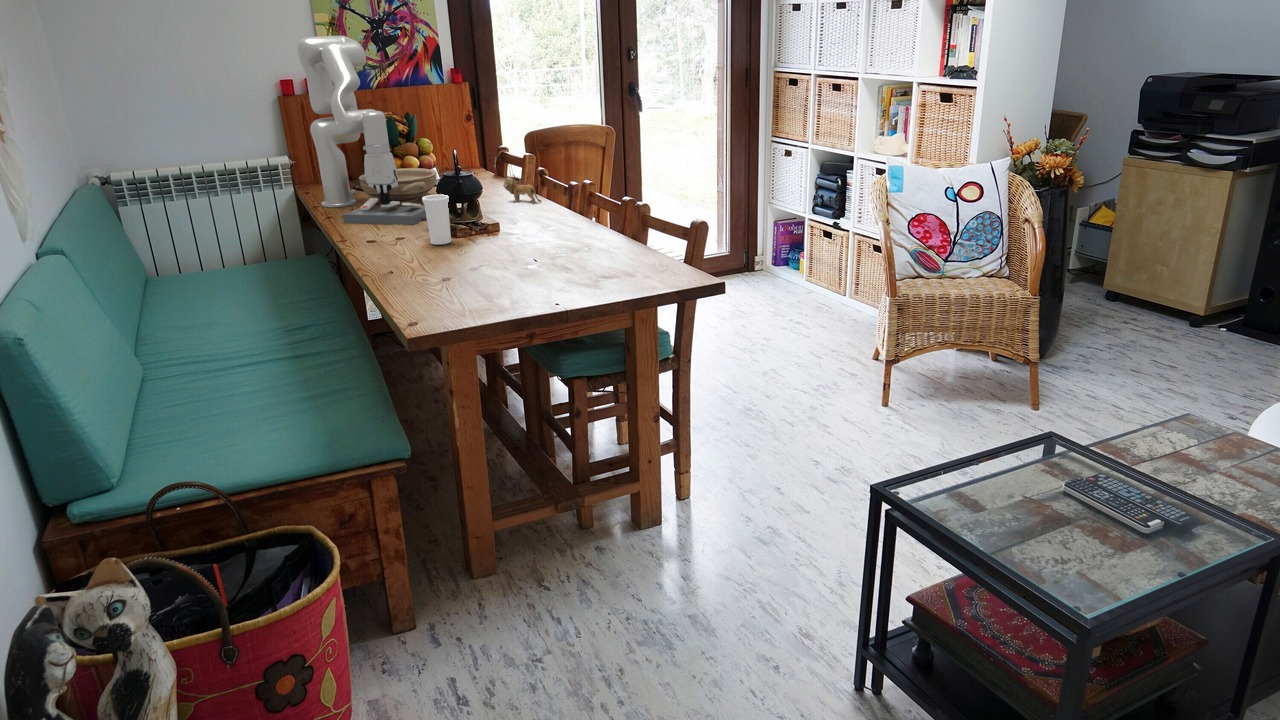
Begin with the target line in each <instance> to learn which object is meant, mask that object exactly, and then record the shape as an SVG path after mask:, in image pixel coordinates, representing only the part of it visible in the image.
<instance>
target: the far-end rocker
mask: <svg viewBox="0 0 1280 720" xmlns="http://www.w3.org/2000/svg"><path fill="white" fill-rule="evenodd" d="M378 201H379V199H378V198H375V197H369V198H368V199H367V201H366V202H364V204H363V205H361V206H360V207H359V208H360V209H361V210H369V209H370V208H371V207H372V206H374V205H375V204H376V203H377V202H378Z"/></svg>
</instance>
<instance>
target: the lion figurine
mask: <svg viewBox="0 0 1280 720" xmlns="http://www.w3.org/2000/svg"><path fill="white" fill-rule="evenodd" d="M502 186H503V187H504V190H506V191H507V192H509V193H510V194H511V195H513V198H514V201H513V203H518V202H519V201H521V199H520V197H521V196H520V195H522V196H524V195H525V196H526V195H527V196H528V197H529V198H530V199H531V200H529V202H531V204H532V205H535V204H536V200H537V201H538V202H540V203H541V202H542V200H541V199H539V198H538V196H537V193H536V190H535V187H534V186H533V185H532V184H522V183H520V182H519V181H518V180H515V179H514V178H512V177H506V178H505V179H504V183H503V185H502Z"/></svg>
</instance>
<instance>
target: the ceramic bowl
mask: <svg viewBox="0 0 1280 720" xmlns="http://www.w3.org/2000/svg"><path fill="white" fill-rule="evenodd" d="M396 170H397V176H398V181H397V183H398V186H397V187H393V188H392V189H391V191H390V192H389V193H390V202H392V201H395V202H400V204H399V205H402V203H415V202H418V201H419V200H420V198H419V197H423V195H425V194H427V193H429V192H430V191H431V190H433V189H434V187H435V185H436V183H437V171H436V170H434V169H431V168H430V169H429V168H421V167H417V168H416V167H415V168H414V167H411V168H410V167H409V168H396ZM358 181H359V185H360V187H361V189H362V190H363V191H364V193H365V194H366V195H369V196H370V197H371V198H378V200H380V195H379V193H378V192H377V190H376V189H375V188H373V187H369V186H368V183H367V182H366V179H365V173H364V174H361V175H359V177H358ZM391 184H392V183H391Z"/></svg>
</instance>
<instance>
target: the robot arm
mask: <svg viewBox="0 0 1280 720" xmlns="http://www.w3.org/2000/svg"><path fill="white" fill-rule="evenodd" d="M297 55H298V58H299V59H298V60H299V62H300V64H301V67H302V69H303V71H304V74H305V78H306V83H307V89H308V96H309V101H310V106H311V109H312V111H313V112H314V113H315V114H318V115H328V114H329V115H331V114H332V115H333V117H332V116H331V117H323V118H322V117H321V118H318V119H315V120H314V121H312V123H310V134H311V138H312V140H313V143H314V146H315V150H316V151H315V152H316V154H317V161H318V167H319V172H320V178H321V183H322V189H323V195H324V201H321V202H320V204H321V206H322V208H343V207H349V206H353V205H355V204H356V203H357V200H356V198H353V196H355V195H356V194H357V190H356V189H351V188H350V181H349V175H348V168H347V161H346V157H345V154H344V153H343V151H342V150H341V149H340V148H339V147H338V146H337V145H339V144H340V145H341V144H348V143H354V142H357V141H358V140H359V139H360V137H361V134H363V136H364V142H365V145H364V146H362V149H363V151H365V152H366V154H364V158H363V159H364V161H363V162H364V163H363V166H364V168H363V169H364V174H365V179H366V182H367V183H368V186H369V187H373V188H375V189H376V190H377V192H378V193H379V195H380V199H379V201H380V205H381V204H382V205H387V204H390V193H389V192H390V191H391V189H392V188H393V187H397V186H398V183H397V181H398V176H397V170H396V169H397V166H396V162H395V159H394V156H393V153H392V152H391V150H390V143H389V135H388V128H387V121H386V120H387V119H386V116H385V113H384V112H383V111H381V110H375V109H372V108H369V109H368V108H367V109H358V105H357V104H358V103H357V99H356V95H355V93H354V92H356V90H357V89H358V88H359V87H360V85H361V80H360V78H359V75H358V73H357V71H356V69H355V68H361V67H364V66H365V64H366V61H367V56H366V51H365V49H364V48H363V46H362V45H361V44H360V42H358V41H357V40H355V39H352V38H350V37H347V36H345V35H324V36H323V35H322V36H321V35H320V36H318V35H317V36H307V37H304V38H301V39H300V40H299V41H298V43H297ZM391 183H392V184H391Z"/></svg>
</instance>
